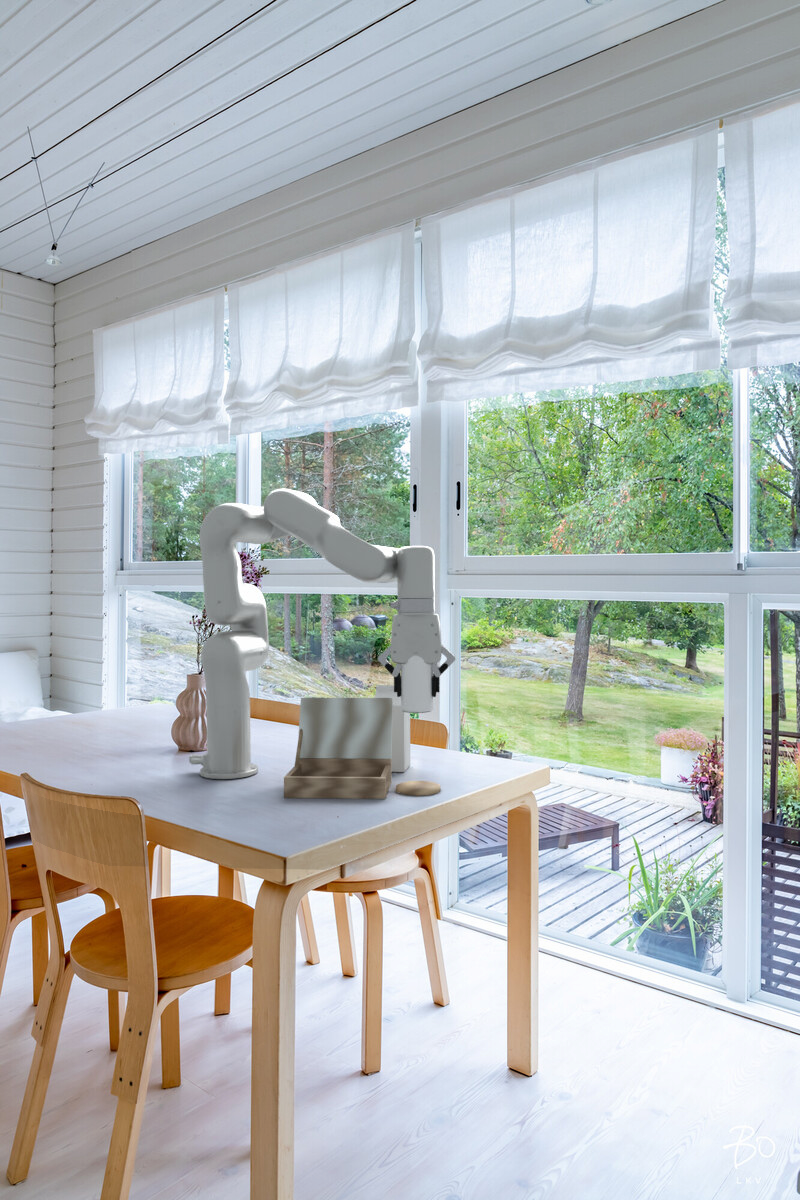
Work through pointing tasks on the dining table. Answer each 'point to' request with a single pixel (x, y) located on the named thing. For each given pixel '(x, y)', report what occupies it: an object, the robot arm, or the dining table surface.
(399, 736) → the milk carton
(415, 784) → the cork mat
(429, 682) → the can
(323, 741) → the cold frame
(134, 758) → the dining table surface
